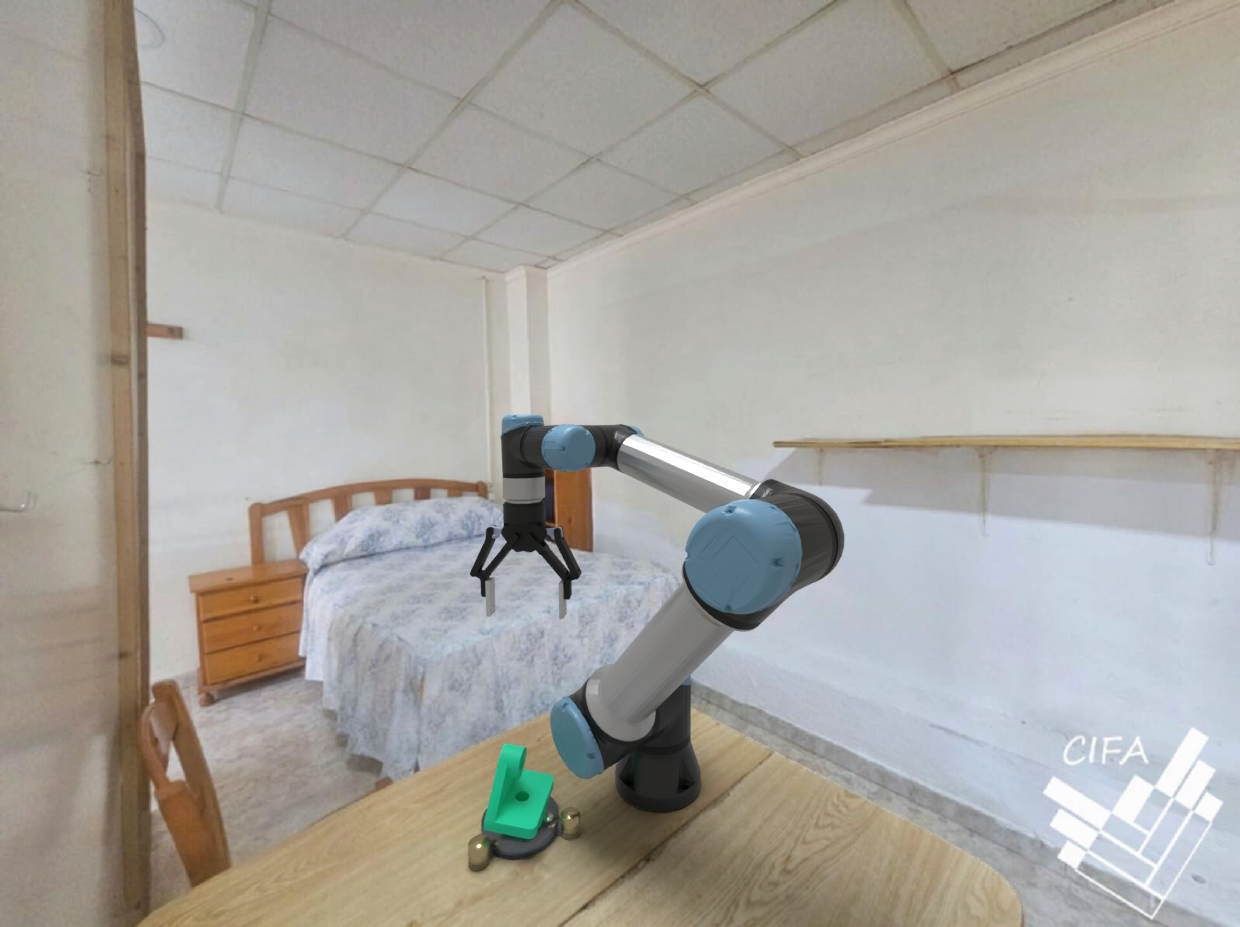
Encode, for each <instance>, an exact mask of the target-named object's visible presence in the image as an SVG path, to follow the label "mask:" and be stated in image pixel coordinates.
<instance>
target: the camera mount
mask: <svg viewBox="0 0 1240 927" xmlns="http://www.w3.org/2000/svg"><path fill="white" fill-rule="evenodd" d="M527 752H528V749H527V747H526V746H524V745H523V746H522V745H517V744H511V743H507V742H505V743H504V744H503V746H502V748H501V750H500V753H499V757H498V761H497V764H496V769H495V774H494V777H493V782H492V786H491V790H490V795H489V799H488V804H487V808H486V809H487V811H486V816H485V820H484V830H486V831H491V832H496V833H501V834H506V835H510V836H515V837H520V838H525V839H532V838H534V837H535V836H536V833H537V831H538V828H540V827H541V824H542V822H543V819H544V816H545V813H546V810H547V808H548V802H549V798H550V796H551V795H552V791H553V790H554V781H555V776H553V774H550V773H547V772H546V773H545V772H540V771H534V770H530V769H524V768H525V766H526V765H525V764H526V760H527V754H528V753H527Z"/></svg>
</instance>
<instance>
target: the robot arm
mask: <svg viewBox="0 0 1240 927" xmlns="http://www.w3.org/2000/svg"><path fill="white" fill-rule="evenodd" d="M500 446H501V472H502V498H503V500H505V501H504V503H502V512H503V513H502V516H503V518H502V519H503V526H502V527H499V526H497V525H496V524H492V525H490V526H489V527H487V528H486V529H485V539H484V542H483V543H482V546H481V547H480V550H479V552H478V553H477V556H476V558H475V561H474V563H473V565H472V567H471V569H470V571H469V576H470V577H472V578H477V579H479V581H480V596H481V598H485V613H486V614H485V616H486V617H491V616H493V614H494V613H496V586H495V585H496V584H495V580H496V579H495V577H493V576H492V573H494V572H495V570H496V569H497V568H498V567H499V566H500V564H501V563H502V562H503V560H505V558H506V557H507V556H508V555H509V553H510V552H511V551H512V550H513V551H514V552H515V553H522V552H525V553H533V552H535V551H536V552H537V554H538V555H539V556H541V557H542V559H544V560H545V562H546V563H547V564H548V565H549V567H550V568H551V569H552V570H553V571H554V572H555V574H556V575H557V576H558V577H559V579H560V581H559V582H558V613H559V614H558V619H559V620H564V619H565V618H566V616H567V612H568V610H567V600H570V599H571V597H572V595H573V594H572V593H573V591H572V590H573V589H572V584H573V583H572V582H573V581H575V580H579V578H580V577H581V575H582V570H581V568H580V566H579V564H578V562H577V559H576V558H575V556H574V554H573V552H572V550H571V548H570V547H569V544H568V542H567V540H566V538H565V532H564V528H563V526H561V525H557V526H556V527H549V528H548V526H547V523H546V521H547V520H546V502H545V501H544V500H543V499H544V498H545V497H546V482H545V481H546V478H545V477H546V476H545V475H546V474H545V473H546V472H545V471H546V470H551V471H559V472H561V473H567V472H580V471H582V470H584V469H589V468H590V469H593V468H610V469H614V470H615V471H617V472H619V473H621V474H624V475H626V476H629V477H631V478H632V479H635V480H636V481H638V482H641V483H643V484H645V485H647V486H649V487H651V488H653V489H656V490H657V491H660V492H661V493H664V494H665V495H668V496H670V497H672V498H674V499H676V500H678V501H679V502H682V503H683V504H686V505H688V506H690V507H692V508H694V509H696V510H699V511H700V512H703V513H704V515H703V516H702V517H701V518H700V519H699V520H698V521H697V522H696V523H695V524H694V526H693V527H692V529H691V530H690V533H689V535H688V538H687V540H686V542H685V548H684V551H685V553H686V554H687V555H686V557H685V558H684V560H683V562H682V565H681V579H682V581H681V583H680V584H679V585H678V587H676V589H675V590H674V591H673V593H672V594H671V595H670V596H669V597H668V599H667V600H666V601H665V602H664V603H663V605H661V607H660V608H659V609H658V611H657V612H656V613H655V614H654V615H653V616H652V618H651V619H650V620H649V621H648V622H647V623H646V624H645V626H644V627H643V629H642V630H640V632H639V633H638V634H637V635H636V637H635V638H634V639H633V640H632V642H631V643H630V644H629V645H628V646H627V648H626V649H625V650H624V651H623V653H621V655H620V656H619V657H618V658H617V659H616V661H615V662H614V663H613V664H612V663H610V664H605V665H602V666H600V667H598V668H597V669H595V670H594V671H593V672H592V674H591V675H590V676H589V677H588V678H587V679H586V681H585V682H584V683H583V685H582V686H581V687H580V688H578V690H576V691H575V692H573V693H571V694H569V695H568V696H567V695H565V696H562V697H561V699H559V700H557V701H555V703H554V704H553V705H552V707H551V710H550V714H549V727H550V731H551V732H550V733H551V736H552V740H553V743H554V746H555V748H556V750H557V752H558V755H559V757H560V759H561V760H562V762H563V764H564V765H565V767H567V769H568V770H569V771H570V772H571V773H573V774H574V775H575V776H576V777H578V778H579V779H583V780H584V779H585V780H589V779H592V778H594V777H596V776H597V775H602V774H603V773H604V772H605V771H606V770H607V769H609V768H611V767H612V766H614V765H615V770H614V771H615V772H614V774H615V775H614V776H615V777H614V779H615V780H614V783H615V787H616V791H617V792H618V793H619V795H620V797H621V798H622V799H623V800H625V802H627V803H628V804H630V805H631V806H633V807H635V808H638V809H641V810H644V811H648V812H653V813H665V812H673V811H677V810H681V809H683V808H685V807H687V806H689V805H690V804H691V803H693V802H694V801H695V800H696V799H697V797H698V796H699V793H700V791H701V787H702V785H701V784H702V782H701V780H702V779H701V778H702V776H701V775H702V774H701V768H700V765H699V762H698V758H697V756H696V752H695V749H694V746H693V744H692V738H691V734H692V733H691V730H692V729H691V728H692V727H691V726H692V724H691V723H692V720H691V718H692V715H691V714H692V712H691V711H692V710H691V709H692V705H691V704H692V699H691V698H692V684H693V682H692V679H691V678H692V677H691V676H692V674H693V673H694V672H695V671H696V670H697V669H698V668H699V667H700V666H701V665H702V664H703V663H704V662H705V661H706V660H707V659H708V658H709V656H711V655H712V654H713V653H714V652H715V651H716V650H717V649H718V648H719V647H720V646H721V645H722V644H723V643H724V642H725V641H726V640H727V639H728V638H729V637H730V636H731V635H732V634H733V633H734V632H741V633H742V632H751V631H754V630H755V629H757V628H758V627H759V626H760V625H761V624H762V623H763V622H764V621H765V620H767V619H768V617H769V616H771V614H772V613H774V612H775V611H776V610H777V609H778V608H779V607H781V605H782V604H783V603H784V602H785V601H786V600H787V599H789V598H790V597H791V596H792V595H794V594H795V593H796V592H798V591H799V590H802V589H804V588H806V587H808V586H810V585H812V584H814V583H817V582H819V581H821V580H823V579H824V578H826V577H827V576H828V575H829V574H830V573H832V571H834V569H835V568H836V567H837V566H838V564H839V562H840V560H841V558H842V557H843V552H844V550H845V549H844V548H845V533H844V532H845V531H844V528H843V524H842V521H841V520H840V518H839V516H838V513H837V512H836V511H835V510H834V508H833V507H832V506H831V505H829V503H828V502H827V501H826V500H824V499H823V498H821V497H819V496H817V495H816V494H813V493H811V492H808V491H806V490H803V489H801V488H798V487H795V486H792V485H790V484H786V483H784V482H782V481H779V480H776V479H773V478H765V479H763V480H761V481H759V480H757V479H754V478H752V477H749V476H746V475H744V474H741V473H738V472H737V471H734V470H731V469H729V468H726V467H723V466H720V465H718V464H716V463H713V462H710V461H708V460H706V459H703V458H701V457H699V456H696V455H692V454H690V453H687V452H686V451H682V450H680V449H678V448H676V447H672V446H670V445H667V444H665V443H662V442H660V441H658V440H657V441H656V440H655V439H652V438H649V437H647V436H645V435H644V433H643V432H642V431H641V429H640V428H639V427H637V426H635V425H627V424H623V423H618V424H592V425H591V424H573V423H572V424H570V423H569V424H567V423H563V424H553V425H545V422H544V417H543V416H542V415H540V414H528V413H527V414H522V413H521V414H507V415H504V417H502V419H501V435H500ZM501 535H502V538H503V539H504V540H505V544H504V545H503V546H502V547H501V548H500V550H499V552H498V553H497V554H496V555H495V556H494V557H493V559H491V562H490V563H489V564H488V565H487V566H486V567H485V568H484V566H485V564H486V562H487V560H488V557H489V555H490V553H491V551H492V549H493V546H494V545H495V542H496V541H497V540H496V539H498V538H500V536H501ZM547 536H550V538H551V540H553V541H554V542H555V545H556V548H557V549H558V551H559V554H560V556H561V557H562V560H563V561H564V563H565V564H564V563H563V562H562V561H561V560H560V558H559V557H558V556H557V555H556V554H555V553H554V552H553V551H552V549H551V548H550V545H549V544H548V543H547V541H545V539H546V538H547ZM565 565H566V566H565ZM483 568H484V569H483Z"/></svg>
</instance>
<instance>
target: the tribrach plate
mask: <svg viewBox="0 0 1240 927" xmlns="http://www.w3.org/2000/svg"><path fill="white" fill-rule="evenodd" d="M486 811H487V808H485V811H484V812H483V814H482V816H481V819H480V820H481V821H480V822H481V823H480V832H481V833H480V834H477V835H475V836H473V837H472V838H470V839H469V841H468V844H467V845H468V846H467V847H468V848H467V852H468V854H467V856H468V867H469V869H470V870H471V871H473V872H479V871H480V872H481V871H483V870H485V869H486V868H487V867H488V866H489V865H490V863H491V859H492V858H493V857H497V858H499V859H503V860H509V861H510V860H511V861H512V860H513V861H514V860H522V859H523V860H524V859H526V858H527V859H528V858H530V857H532V856H534V855H538V854H539V853H541V852H543V850H545V849H547V848H548V847H549V846H550V845H551V844H552V843H553V842H554V841H555V838H556V837H557V836H561V837H562V838H563V839H565V840H568V841H570V840H571V841H572V840H575V839H577V838H578V837H579V836H580V835H581V812H580V810H579V808H577V807H575V806H569V807H568V806H567V807H565V808H563V809H562V810H561V812H560V810H559V805H558V803H557V801H556V800H555V798H553V797H552V796H551V795H550V798H549V802H548V808H547V810H546V813H545V816H544V819H543V822H542V824H541V827H540V828H538V831H537V833H536V836H535V837H534V838H532V839H525V838H520V837H515V836H510V835H506V834H501V833H496V832H491V831H486V830H484V820H485V816H486Z"/></svg>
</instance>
